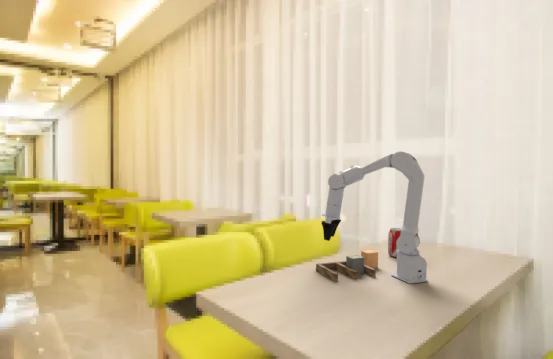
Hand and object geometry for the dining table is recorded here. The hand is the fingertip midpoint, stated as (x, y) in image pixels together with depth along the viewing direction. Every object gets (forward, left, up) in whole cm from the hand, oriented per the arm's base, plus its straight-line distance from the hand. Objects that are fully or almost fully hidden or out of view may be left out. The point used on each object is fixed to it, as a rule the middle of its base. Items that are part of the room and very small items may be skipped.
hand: (328, 238), depth 131 cm
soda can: (+2, -36, -11) cm, 37 cm away
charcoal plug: (-13, -4, -11) cm, 17 cm away
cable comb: (-13, 0, -11) cm, 17 cm away
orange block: (-8, -14, -11) cm, 19 cm away
